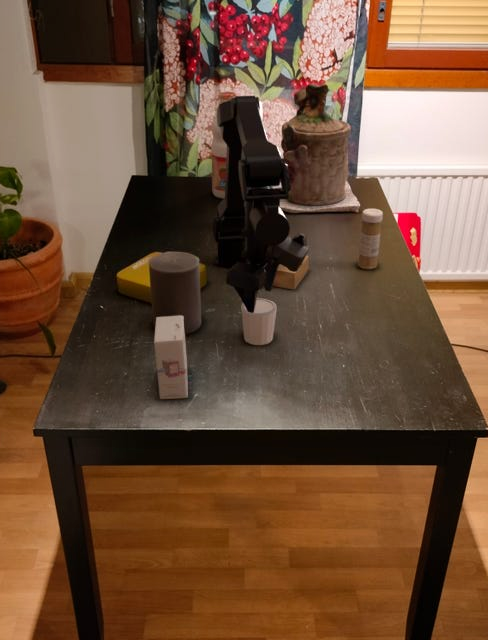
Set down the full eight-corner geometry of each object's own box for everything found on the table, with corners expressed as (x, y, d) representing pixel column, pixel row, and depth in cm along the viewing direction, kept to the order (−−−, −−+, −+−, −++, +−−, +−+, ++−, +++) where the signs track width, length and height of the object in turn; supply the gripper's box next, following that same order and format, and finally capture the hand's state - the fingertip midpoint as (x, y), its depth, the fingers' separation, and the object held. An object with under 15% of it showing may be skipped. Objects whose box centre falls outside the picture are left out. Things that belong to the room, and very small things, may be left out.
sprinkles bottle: (371, 260, 169) (377, 206, 162) (380, 268, 166) (386, 213, 158) (353, 263, 168) (359, 209, 160) (362, 271, 164) (368, 216, 157)
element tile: (156, 267, 165) (155, 248, 162) (210, 282, 159) (209, 263, 156) (114, 292, 154) (112, 272, 151) (170, 310, 148) (169, 289, 145)
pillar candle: (163, 340, 137) (158, 270, 129) (146, 318, 145) (140, 250, 137) (209, 329, 141) (207, 260, 133) (190, 308, 149) (187, 241, 140)
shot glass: (272, 348, 135) (273, 316, 132) (237, 344, 136) (237, 312, 133) (278, 330, 141) (279, 299, 137) (244, 327, 142) (245, 295, 138)
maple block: (251, 282, 159) (251, 265, 157) (267, 264, 167) (267, 248, 165) (294, 289, 156) (294, 273, 154) (307, 271, 164) (308, 255, 162)
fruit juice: (232, 186, 212) (232, 88, 197) (251, 195, 206) (251, 94, 191) (206, 192, 207) (203, 92, 192) (223, 202, 201) (222, 99, 186)
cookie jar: (346, 184, 215) (356, 71, 198) (362, 214, 194) (374, 92, 177) (265, 184, 214) (267, 71, 196) (272, 215, 193) (275, 92, 176)
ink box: (159, 372, 128) (155, 314, 122) (187, 371, 129) (184, 313, 122) (158, 400, 121) (153, 340, 115) (187, 398, 121) (184, 339, 115)
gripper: (287, 250, 116) (284, 332, 125) (319, 211, 131) (315, 287, 140) (224, 240, 120) (225, 320, 128) (263, 203, 134) (261, 278, 143)
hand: (259, 301), depth 135 cm, fingers open, 9 cm apart
